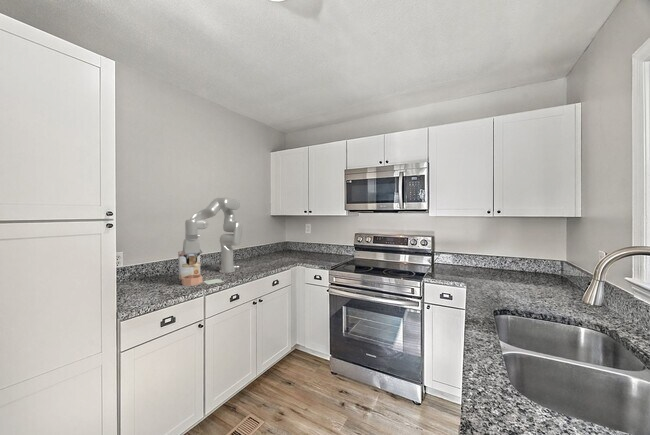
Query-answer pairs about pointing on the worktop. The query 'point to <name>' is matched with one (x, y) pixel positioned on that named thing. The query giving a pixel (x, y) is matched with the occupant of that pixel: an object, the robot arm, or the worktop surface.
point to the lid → (191, 262)
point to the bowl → (191, 280)
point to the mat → (213, 281)
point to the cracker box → (187, 270)
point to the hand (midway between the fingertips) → (191, 263)
